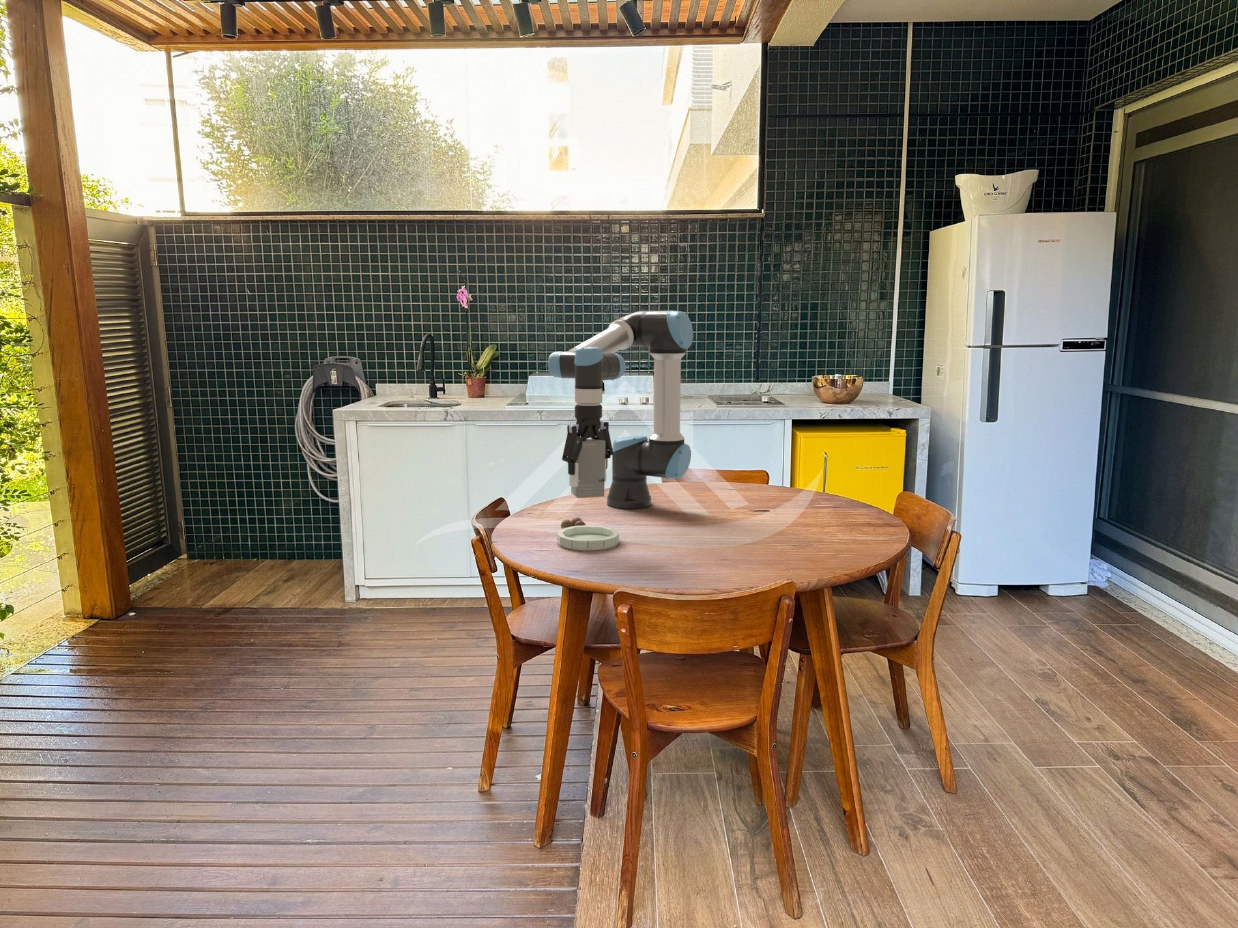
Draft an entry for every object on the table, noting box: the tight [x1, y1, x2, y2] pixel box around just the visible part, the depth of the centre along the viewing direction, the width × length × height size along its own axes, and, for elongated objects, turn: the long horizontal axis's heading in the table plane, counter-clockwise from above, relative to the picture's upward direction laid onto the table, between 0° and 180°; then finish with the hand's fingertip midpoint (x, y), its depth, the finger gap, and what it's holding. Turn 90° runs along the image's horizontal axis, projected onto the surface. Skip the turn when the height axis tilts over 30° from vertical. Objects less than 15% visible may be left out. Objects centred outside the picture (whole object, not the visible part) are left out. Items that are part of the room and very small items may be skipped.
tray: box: [556, 524, 620, 552], centre depth 234 cm, size 17×17×3 cm
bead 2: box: [570, 517, 583, 526], centre depth 249 cm, size 4×4×4 cm
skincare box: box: [571, 438, 605, 499], centre depth 231 cm, size 8×7×16 cm
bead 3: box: [574, 520, 587, 526], centre depth 245 cm, size 4×4×4 cm
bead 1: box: [560, 519, 573, 529], centre depth 246 cm, size 4×4×4 cm
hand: (588, 483), depth 232 cm, fingers closed on skincare box, 10 cm apart
